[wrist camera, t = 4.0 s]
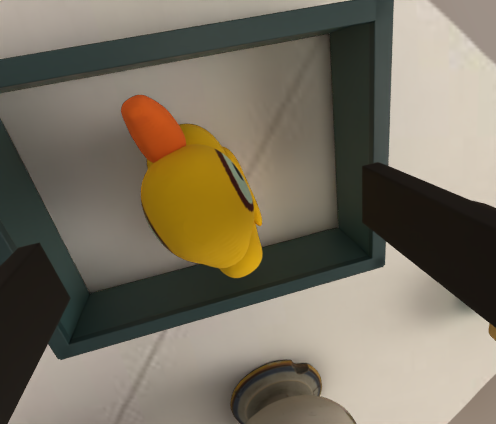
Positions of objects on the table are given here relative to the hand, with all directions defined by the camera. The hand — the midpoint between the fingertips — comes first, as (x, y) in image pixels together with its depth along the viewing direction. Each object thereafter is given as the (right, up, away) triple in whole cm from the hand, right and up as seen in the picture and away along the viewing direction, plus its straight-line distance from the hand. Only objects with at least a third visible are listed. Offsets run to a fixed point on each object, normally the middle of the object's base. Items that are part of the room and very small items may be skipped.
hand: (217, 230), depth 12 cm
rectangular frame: (-2, +3, +8) cm, 9 cm away
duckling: (-2, +3, +8) cm, 9 cm away
